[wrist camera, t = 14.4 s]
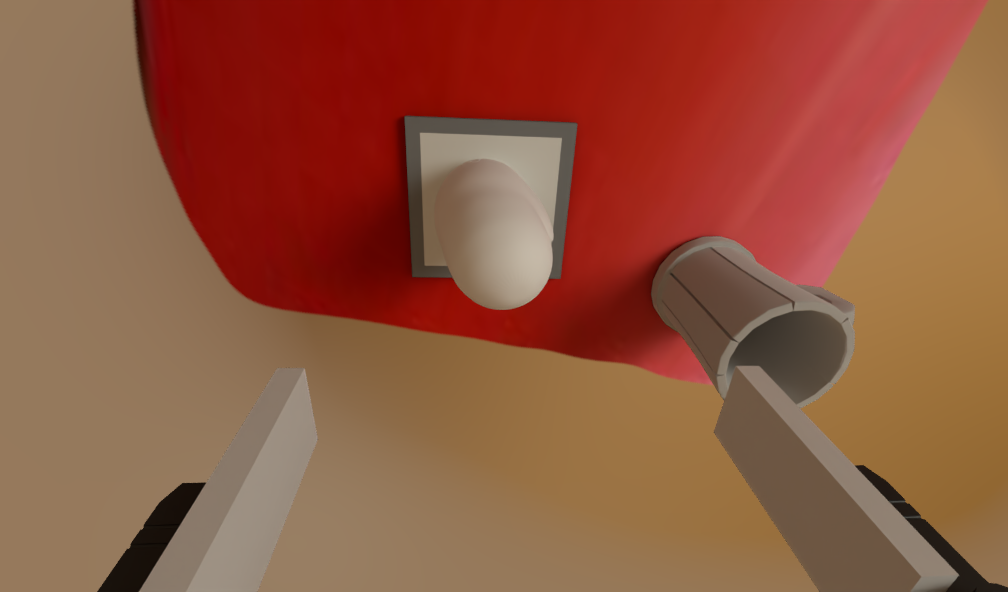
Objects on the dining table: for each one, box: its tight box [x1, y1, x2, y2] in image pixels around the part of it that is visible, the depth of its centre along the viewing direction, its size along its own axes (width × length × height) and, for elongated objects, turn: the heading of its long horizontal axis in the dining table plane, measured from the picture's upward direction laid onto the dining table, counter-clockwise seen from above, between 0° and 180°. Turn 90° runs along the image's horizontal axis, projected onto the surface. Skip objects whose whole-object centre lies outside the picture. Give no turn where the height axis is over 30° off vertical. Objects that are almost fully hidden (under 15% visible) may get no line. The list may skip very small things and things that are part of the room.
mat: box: [405, 116, 577, 279], centre depth 35 cm, size 12×12×1 cm
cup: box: [651, 236, 855, 408], centre depth 34 cm, size 10×9×12 cm
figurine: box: [434, 159, 554, 310], centre depth 29 cm, size 7×8×12 cm
